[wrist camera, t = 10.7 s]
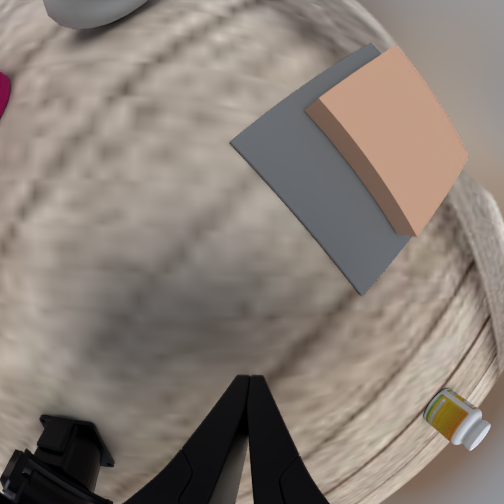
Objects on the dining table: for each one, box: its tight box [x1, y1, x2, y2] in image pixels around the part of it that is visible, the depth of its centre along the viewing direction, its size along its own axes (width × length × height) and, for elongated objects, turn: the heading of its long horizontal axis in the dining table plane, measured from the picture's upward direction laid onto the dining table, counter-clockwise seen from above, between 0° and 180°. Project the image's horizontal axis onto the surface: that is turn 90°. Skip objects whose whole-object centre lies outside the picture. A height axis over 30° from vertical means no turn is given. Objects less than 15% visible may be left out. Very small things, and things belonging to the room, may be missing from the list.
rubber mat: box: [230, 43, 412, 296], centre depth 19 cm, size 17×15×1 cm
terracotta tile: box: [304, 45, 469, 237], centre depth 18 cm, size 3×12×11 cm
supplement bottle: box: [424, 389, 491, 451], centre depth 22 cm, size 5×5×10 cm
